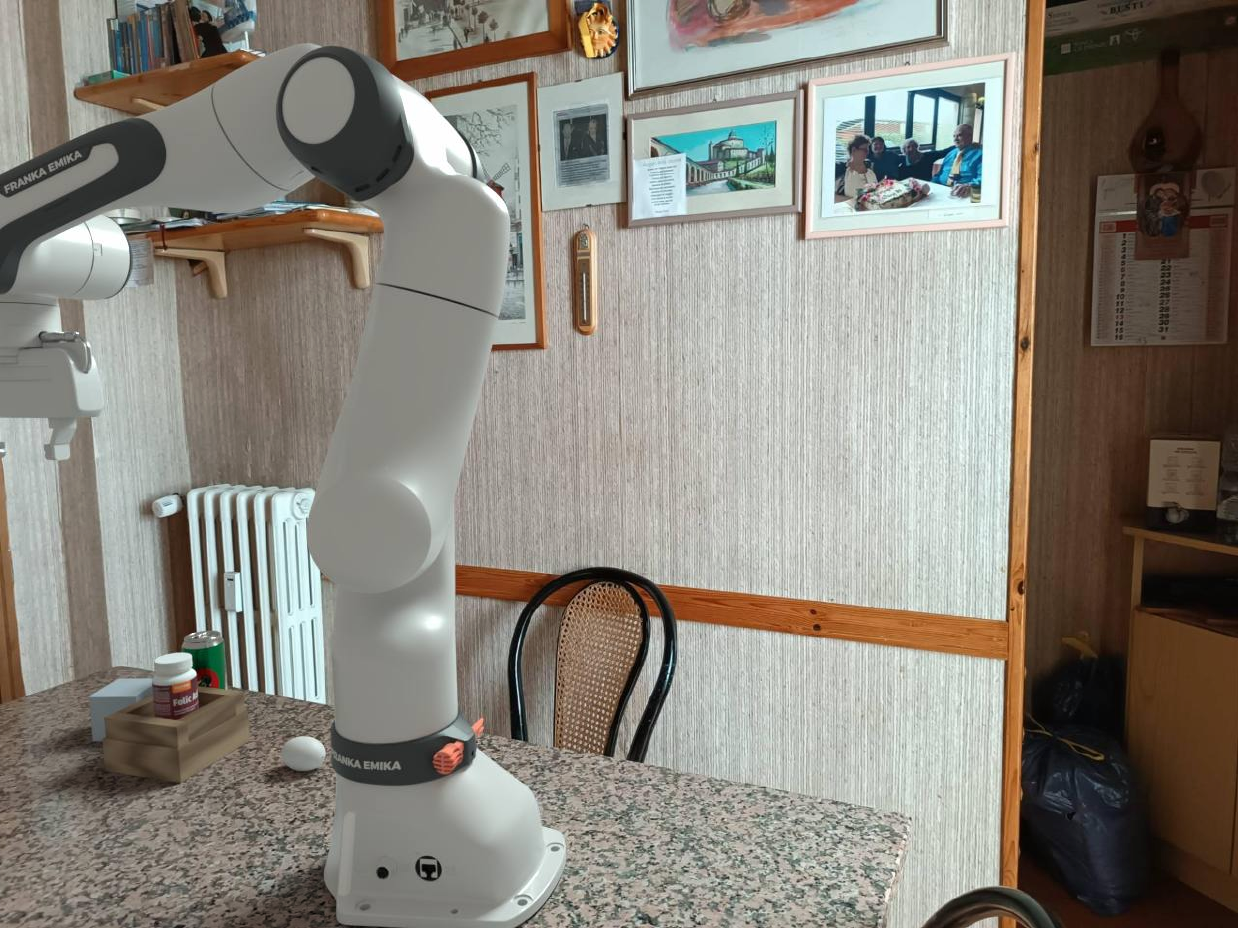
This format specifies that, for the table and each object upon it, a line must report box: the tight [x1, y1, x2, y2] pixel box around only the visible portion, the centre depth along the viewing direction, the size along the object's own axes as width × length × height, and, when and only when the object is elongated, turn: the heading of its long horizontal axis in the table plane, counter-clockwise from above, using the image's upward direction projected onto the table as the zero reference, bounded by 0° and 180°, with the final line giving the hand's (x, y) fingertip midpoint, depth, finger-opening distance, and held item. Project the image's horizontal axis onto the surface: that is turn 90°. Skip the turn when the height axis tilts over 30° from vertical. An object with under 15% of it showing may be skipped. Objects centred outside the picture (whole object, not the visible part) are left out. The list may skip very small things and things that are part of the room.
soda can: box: [180, 630, 229, 690], centre depth 106 cm, size 5×5×12 cm
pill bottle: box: [152, 652, 199, 720], centre depth 96 cm, size 5×5×8 cm
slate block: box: [88, 677, 153, 742], centre depth 104 cm, size 6×6×6 cm
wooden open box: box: [101, 686, 251, 784], centre depth 97 cm, size 11×11×6 cm
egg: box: [280, 735, 326, 772], centre depth 94 cm, size 4×6×4 cm, turn 72°
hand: (25, 459), depth 88 cm, fingers open, 8 cm apart
